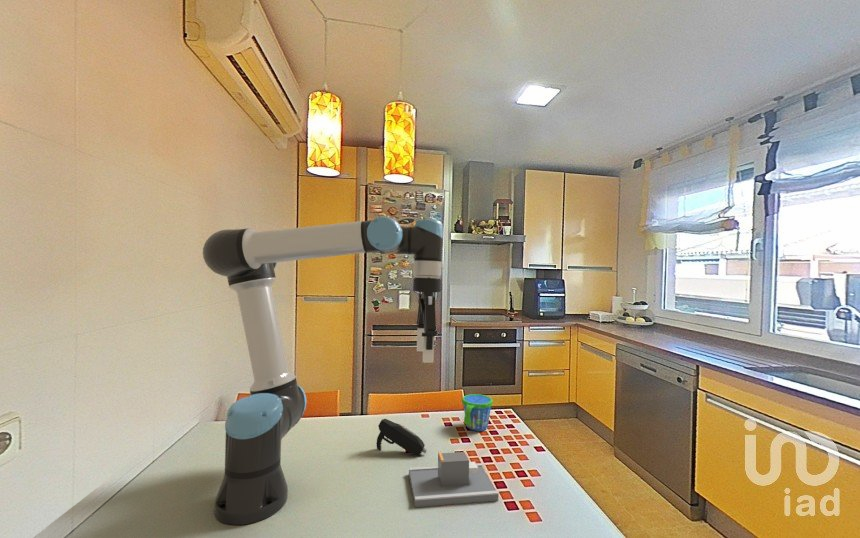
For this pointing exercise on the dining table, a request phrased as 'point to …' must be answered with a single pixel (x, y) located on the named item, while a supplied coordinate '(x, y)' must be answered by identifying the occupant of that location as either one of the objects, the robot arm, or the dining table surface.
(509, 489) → the dining table surface
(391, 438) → the gun
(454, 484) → the block
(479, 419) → the snack cup
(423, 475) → the slate pad
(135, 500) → the dining table surface
